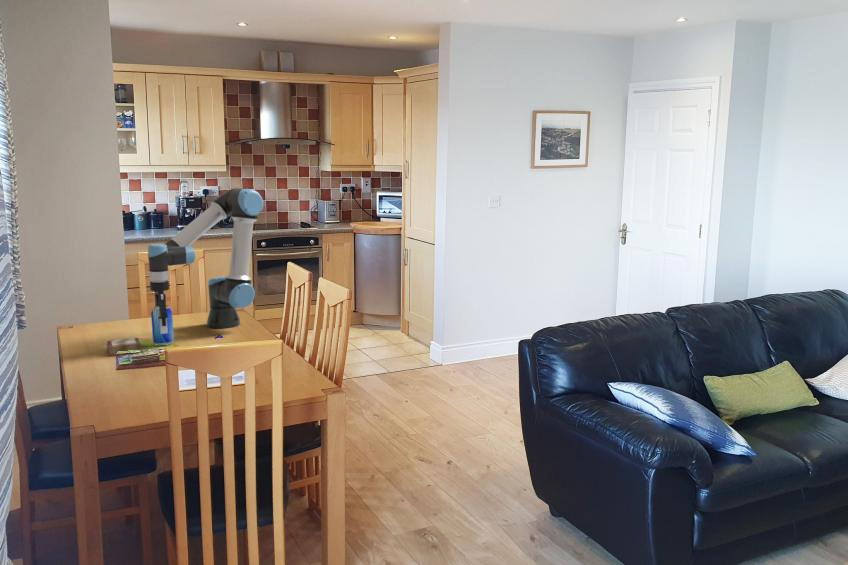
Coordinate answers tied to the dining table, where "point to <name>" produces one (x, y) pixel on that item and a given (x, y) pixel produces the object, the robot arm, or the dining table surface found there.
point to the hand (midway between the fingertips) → (162, 330)
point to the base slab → (123, 345)
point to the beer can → (157, 336)
